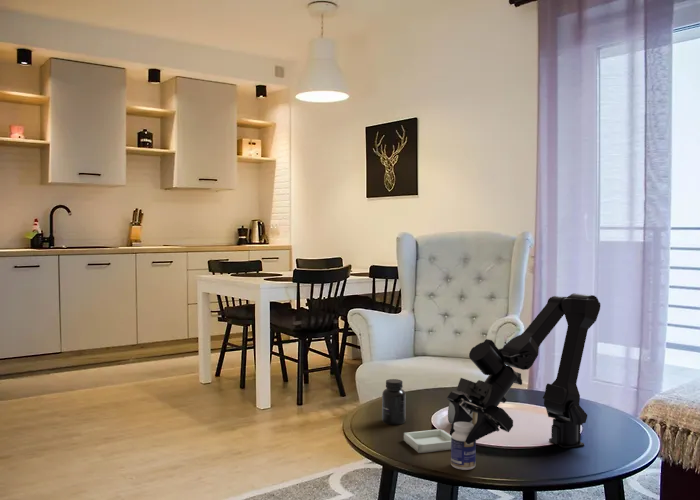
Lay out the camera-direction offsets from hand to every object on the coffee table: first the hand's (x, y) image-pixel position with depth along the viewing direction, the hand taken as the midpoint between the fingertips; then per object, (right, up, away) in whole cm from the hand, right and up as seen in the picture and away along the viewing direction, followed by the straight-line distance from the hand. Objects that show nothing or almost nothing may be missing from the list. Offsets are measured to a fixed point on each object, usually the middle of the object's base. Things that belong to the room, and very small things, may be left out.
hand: (458, 439), depth 147 cm
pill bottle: (+1, -7, +1) cm, 7 cm away
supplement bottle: (-13, -6, +35) cm, 38 cm away
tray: (-5, -6, +16) cm, 17 cm away
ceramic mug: (+8, -6, +33) cm, 34 cm away
